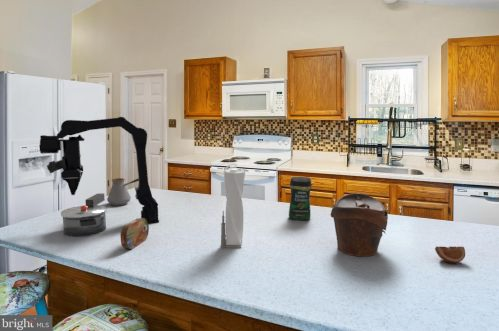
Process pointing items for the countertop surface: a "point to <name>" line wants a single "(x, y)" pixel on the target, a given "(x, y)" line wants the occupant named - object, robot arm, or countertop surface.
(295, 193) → the coffee jar
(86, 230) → the cooker pot
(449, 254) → the fruit slice
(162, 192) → the countertop surface
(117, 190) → the coffee pot
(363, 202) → the brown flower pot
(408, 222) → the countertop surface
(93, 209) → the cooker lid
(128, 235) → the tin
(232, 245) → the skyscraper
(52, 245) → the countertop surface
